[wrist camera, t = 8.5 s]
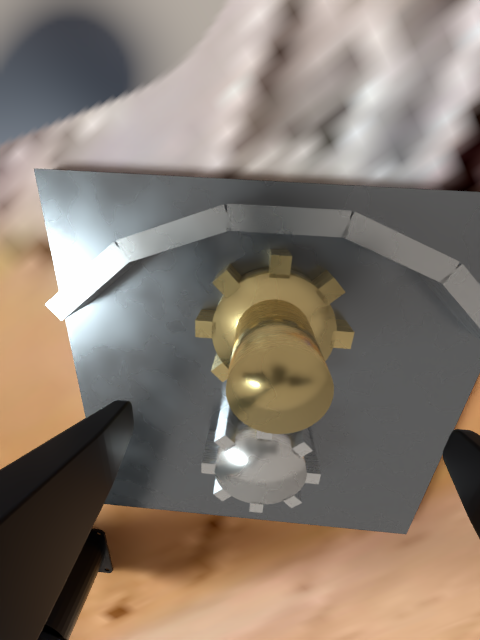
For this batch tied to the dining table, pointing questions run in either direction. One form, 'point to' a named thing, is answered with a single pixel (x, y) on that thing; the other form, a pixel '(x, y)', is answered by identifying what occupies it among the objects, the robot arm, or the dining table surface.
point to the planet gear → (275, 343)
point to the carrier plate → (199, 353)
